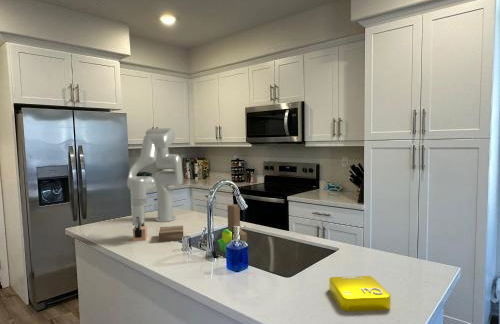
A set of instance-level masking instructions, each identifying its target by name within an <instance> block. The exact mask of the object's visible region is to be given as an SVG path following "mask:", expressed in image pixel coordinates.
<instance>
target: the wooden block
mask: <svg viewBox="0 0 500 324" xmlns="http://www.w3.org/2000/svg"><path fill="white" fill-rule="evenodd" d="M238 205H239V204H236V203H235V204H234V203H232V204H228V205H226V206H227V229H228V230H229V231H230V232H232V227H233V226H240V237H241V238H240V239H241V240H242V241H245V243H247V242H248V233H247V232H245V231H243V230H242V228H241V214H240V212H241V211H240V210H241V208H239V207H238Z"/></svg>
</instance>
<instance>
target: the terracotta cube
mask: <svg viewBox="0 0 500 324" xmlns="http://www.w3.org/2000/svg"><path fill="white" fill-rule="evenodd" d="M139 227H140V226H139ZM141 230H142V237H141V238H135V226H134V228H133V229H132V241H133V242H142V241H144V242H145V241H146V240H147V238H148V226H147V225H145V226H141Z"/></svg>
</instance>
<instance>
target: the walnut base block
mask: <svg viewBox="0 0 500 324" xmlns="http://www.w3.org/2000/svg"><path fill="white" fill-rule="evenodd" d="M182 237H183V238H184V225H172V226H160V227H159V231H158V243H159V242H161V243H171V241H173V242H182V241H181V240H182Z"/></svg>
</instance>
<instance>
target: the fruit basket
mask: <svg viewBox="0 0 500 324" xmlns="http://www.w3.org/2000/svg"><path fill="white" fill-rule="evenodd" d="M231 240H232V232H230V231H229V230H228V228H225V229H223V230H222V232H221V238H220V239H218V240H217V242H218V245H219V248H220V251H221V252H223V253H225V254H227V253H226V246H227V244H228V243H229V242H230V241H231ZM244 242H245V241H244ZM245 243H246V242H245Z"/></svg>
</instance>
